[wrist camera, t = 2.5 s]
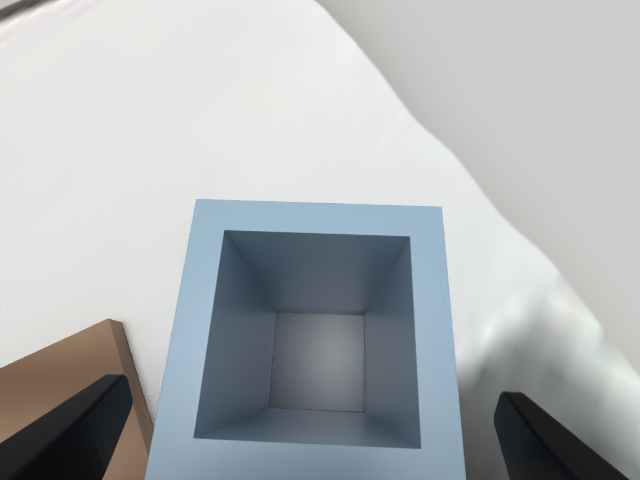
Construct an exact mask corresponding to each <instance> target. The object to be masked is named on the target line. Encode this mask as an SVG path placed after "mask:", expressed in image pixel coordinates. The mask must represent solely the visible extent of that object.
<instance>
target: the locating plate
mask: <svg viewBox="0 0 640 480" xmlns="http://www.w3.org/2000/svg"><path fill="white" fill-rule="evenodd" d="M108 373H123V374H126V375H127V377H128V380H129V384H130V388H131V392H132V396H133V405H132V409H131V411H130V414H129V416H128V419H127V421H126V424H125V426H124V429H123V431H122V434H121V436H120V439H119V441H118V444H117V446H116V449H115V451H114V454H113V456H112V459H111V461H110V464H109V466H108V468H107V470H106V473H105V475H104V477H103V479H102V480H145V475H146V470H147V464H148V459H149V454H150V448H151V443H152V437H153V432H154V430H153V426H152V423H151V420H150V416H149V413H148V410H147V406H146V403H145V400H144V396H143V393H142V390H141V386H140V383H139V380H138V376H137V373H136V369H135V366H134V363H133V359H132V356H131V353H130V349H129V346H128V343H127V339H126V336H125V333H124V329H123V326H122V323H121V322H118V321H115V320H112V319H106V320H104V321H102V322H100V323H98V324H95V325H93V326H91V327H89V328H87V329H85V330H82V331H80V332H78V333H76V334H74V335H72V336H69V337H67V338H65V339H63V340H61V341H59V342H56V343H54V344H52V345H50V346H48V347H46V348H43V349H41V350H39V351H37V352H35V353H33V354H30V355H28V356H26V357H24V358H22V359H20V360H17V361H15V362H13V363H11V364H9V365H7V366H4V367H2V368H0V443H1V442H2V441H4V440H5V439H7V438H8V437H10V436H11V435H13V434H15V433H16V432H18V431H19V430H21V429H22V428H24V427H25V426H27V425H28V424H30V423H31V422H33V421H35V420H36V419H38V418H39V417H41V416H42V415H44V414H45V413H47V412H48V411H50V410H52V409H53V408H55V407H56V406H58V405H59V404H61V403H62V402H64V401H65V400H67V399H68V398H70V397H72V396H73V395H75V394H76V393H78V392H79V391H81V390H82V389H84V388H85V387H87V386H88V385H90V384H92V383H93V382H95V381H96V380H98V379H99V378H101V377H102V376H104V375H106V374H108Z"/></svg>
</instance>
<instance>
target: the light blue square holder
mask: <svg viewBox="0 0 640 480" xmlns="http://www.w3.org/2000/svg"><path fill="white" fill-rule="evenodd" d="M277 312H292V313H318V314H344V315H364V382H365V412H350V411H328V410H306V409H284V408H269V397H270V385H271V373H272V361H273V349H274V337H275V325H276V313H277ZM145 480H466V473H465V462H464V451H463V440H462V428H461V417H460V406H459V395H458V384H457V373H456V361H455V350H454V339H453V328H452V317H451V306H450V295H449V283H448V272H447V261H446V250H445V239H444V228H443V217H442V207H430V206H399V205H368V204H336V203H305V202H274V201H242V200H211V199H196V203H195V209H194V214H193V220H192V225H191V231H190V236H189V241H188V247H187V252H186V258H185V263H184V269H183V274H182V280H181V285H180V290H179V296H178V301H177V307H176V312H175V318H174V323H173V328H172V334H171V339H170V345H169V350H168V356H167V361H166V367H165V372H164V377H163V383H162V388H161V394H160V399H159V405H158V410H157V415H156V421H155V426H154V432H153V437H152V443H151V448H150V454H149V459H148V464H147V470H146V475H145Z"/></svg>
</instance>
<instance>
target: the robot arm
mask: <svg viewBox="0 0 640 480" xmlns="http://www.w3.org/2000/svg"><path fill="white" fill-rule="evenodd" d="M132 405H133V396H132V392H131V388H130V384H129V380H128V377H127V375H126V374H123V373H108V374H106V375H104V376H102V377H101V378H99V379H98V380H96V381H95V382H93V383H92V384H90V385H88V386H87V387H85V388H84V389H82V390H81V391H79V392H78V393H76V394H75V395H73V396H72V397H70V398H68V399H67V400H65V401H64V402H62V403H61V404H59V405H58V406H56V407H55V408H53V409H52V410H50V411H48V412H47V413H45V414H44V415H42V416H41V417H39V418H38V419H36V420H35V421H33V422H31V423H30V424H28V425H27V426H25V427H24V428H22V429H21V430H19V431H18V432H16V433H15V434H13V435H11V436H10V437H8V438H7V439H5V440H4V441H2V442H1V443H0V480H102V479H103V477H104V475H105V473H106V470H107V468H108V466H109V464H110V461H111V459H112V456H113V454H114V451H115V449H116V446H117V444H118V441H119V439H120V436H121V434H122V431H123V429H124V426H125V424H126V421H127V419H128V416H129V414H130V411H131V409H132ZM494 425H495V429H496V432H497V436H498V439H499V443H500V446H501V450H502V453H503V457H504V460H505V464H506V467H507V471H508V475H509V478H510V480H629V479H628V478H627V477H626V476H625V475H623V474H622V473H621V472H620V471H618V470H617V469H616V468H615V467H613V466H612V465H611V464H610V463H609V462H607V461H606V460H605V459H604V458H602V457H601V456H600V455H599V454H597V453H596V452H595V451H594V450H593V449H591V448H590V447H589V446H588V445H586V444H585V443H584V442H583V441H581V440H580V439H579V438H578V437H577V436H575V435H574V434H573V433H572V432H570V431H569V430H568V429H567V428H566V427H564V426H563V425H562V424H561V423H559V422H558V421H557V420H556V419H554V418H553V417H552V416H551V415H550V414H548V413H547V412H546V411H545V410H543V409H542V408H541V407H540V406H538V405H537V404H536V403H535V402H534V401H532V400H531V399H530V398H529V397H527V396H526V395H525V394H524V393H522V392H520V391H507V390H505V391H502V392H501V394H500V396H499V400H498V403H497V406H496V410H495V413H494Z"/></svg>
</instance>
